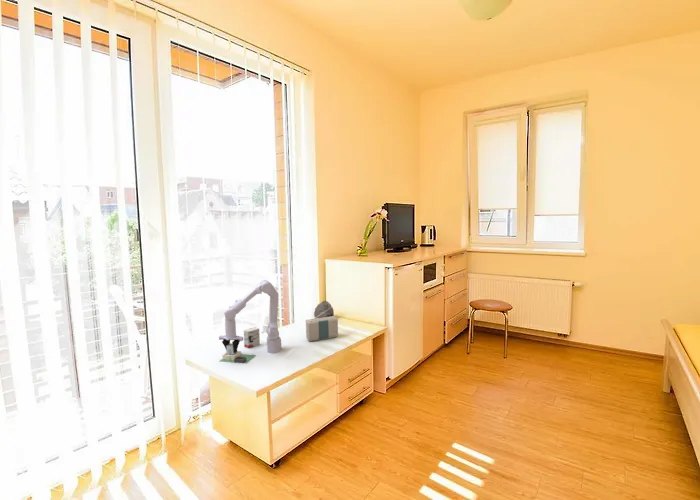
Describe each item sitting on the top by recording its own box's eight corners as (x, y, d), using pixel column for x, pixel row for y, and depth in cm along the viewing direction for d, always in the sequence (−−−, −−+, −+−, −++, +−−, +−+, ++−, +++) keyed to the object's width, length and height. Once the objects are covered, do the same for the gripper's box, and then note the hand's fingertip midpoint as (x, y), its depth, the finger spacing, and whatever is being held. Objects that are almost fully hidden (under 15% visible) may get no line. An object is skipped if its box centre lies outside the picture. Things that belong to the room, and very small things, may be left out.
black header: (234, 362, 202) (234, 359, 202) (237, 359, 205) (237, 356, 205) (243, 363, 201) (242, 359, 200) (246, 360, 204) (246, 357, 204)
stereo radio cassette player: (308, 342, 234) (307, 312, 232) (305, 338, 241) (304, 309, 239) (338, 337, 242) (338, 308, 240) (334, 334, 250) (333, 305, 248)
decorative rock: (334, 319, 285) (334, 300, 284) (330, 321, 279) (330, 302, 278) (317, 316, 293) (317, 298, 291) (312, 318, 287) (312, 300, 285)
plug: (230, 353, 212) (229, 343, 211) (236, 353, 211) (236, 343, 210) (226, 356, 207) (225, 346, 207) (232, 356, 206) (232, 346, 206)
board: (230, 354, 215) (230, 353, 215) (256, 356, 212) (256, 355, 212) (218, 363, 204) (218, 361, 204) (246, 365, 200) (246, 363, 200)
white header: (229, 354, 214) (229, 350, 214) (241, 354, 212) (241, 350, 212) (222, 359, 206) (221, 355, 206) (234, 360, 204) (233, 356, 204)
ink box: (248, 350, 223) (247, 331, 222) (244, 348, 226) (243, 330, 225) (260, 346, 229) (259, 328, 228) (256, 344, 232) (255, 326, 231)
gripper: (215, 330, 205) (216, 353, 207) (238, 332, 202) (239, 355, 204) (222, 327, 212) (223, 349, 214) (244, 328, 209) (245, 350, 211)
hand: (231, 352), depth 209 cm, fingers closed on plug, 4 cm apart
